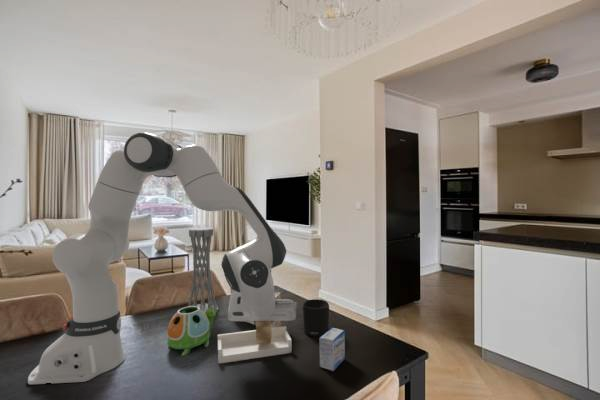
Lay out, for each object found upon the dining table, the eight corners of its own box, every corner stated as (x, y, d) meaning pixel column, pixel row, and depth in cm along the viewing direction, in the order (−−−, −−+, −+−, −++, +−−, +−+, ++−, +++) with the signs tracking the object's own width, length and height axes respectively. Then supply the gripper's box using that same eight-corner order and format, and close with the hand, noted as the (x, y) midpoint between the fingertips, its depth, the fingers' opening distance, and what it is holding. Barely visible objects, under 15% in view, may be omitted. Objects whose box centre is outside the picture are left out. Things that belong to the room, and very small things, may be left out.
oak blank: (256, 343, 95) (255, 311, 95) (257, 337, 99) (257, 306, 99) (270, 343, 95) (270, 311, 95) (271, 337, 99) (271, 306, 99)
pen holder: (297, 331, 111) (297, 303, 111) (316, 323, 117) (316, 297, 117) (315, 340, 104) (315, 310, 104) (334, 332, 110) (334, 304, 110)
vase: (194, 304, 138) (193, 226, 138) (223, 306, 136) (222, 227, 136) (178, 316, 125) (177, 230, 124) (210, 318, 123) (209, 230, 122)
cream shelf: (218, 363, 90) (218, 346, 90) (217, 350, 97) (217, 334, 97) (291, 352, 96) (291, 336, 96) (285, 340, 103) (285, 326, 103)
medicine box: (333, 372, 85) (333, 340, 85) (319, 367, 87) (319, 337, 87) (345, 359, 92) (345, 330, 92) (331, 355, 94) (331, 326, 94)
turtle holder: (228, 336, 107) (227, 302, 107) (184, 360, 92) (183, 320, 91) (203, 328, 114) (203, 296, 113) (158, 349, 98) (158, 312, 98)
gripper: (296, 291, 90) (296, 311, 100) (226, 291, 89) (233, 312, 99) (296, 312, 85) (297, 331, 95) (222, 313, 85) (230, 332, 95)
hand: (264, 321), depth 97 cm, fingers closed on oak blank, 4 cm apart
